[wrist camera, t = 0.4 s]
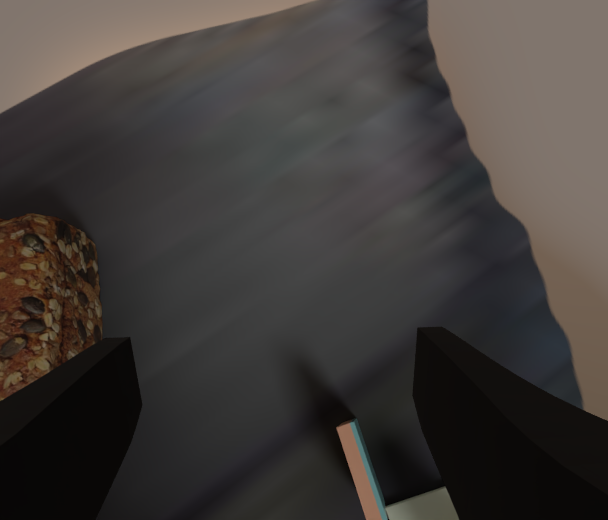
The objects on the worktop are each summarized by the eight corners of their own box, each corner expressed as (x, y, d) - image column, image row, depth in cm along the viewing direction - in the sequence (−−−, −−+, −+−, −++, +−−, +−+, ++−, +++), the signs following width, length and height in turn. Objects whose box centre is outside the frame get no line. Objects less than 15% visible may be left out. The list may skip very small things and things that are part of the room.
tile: (384, 498, 34) (388, 522, 28) (368, 503, 34) (369, 528, 28) (356, 417, 36) (354, 421, 29) (341, 422, 36) (336, 427, 29)
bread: (114, 445, 38) (30, 460, 29) (-5, 467, 39) (-125, 488, 29) (106, 239, 44) (35, 194, 34) (3, 261, 45) (-95, 223, 35)
